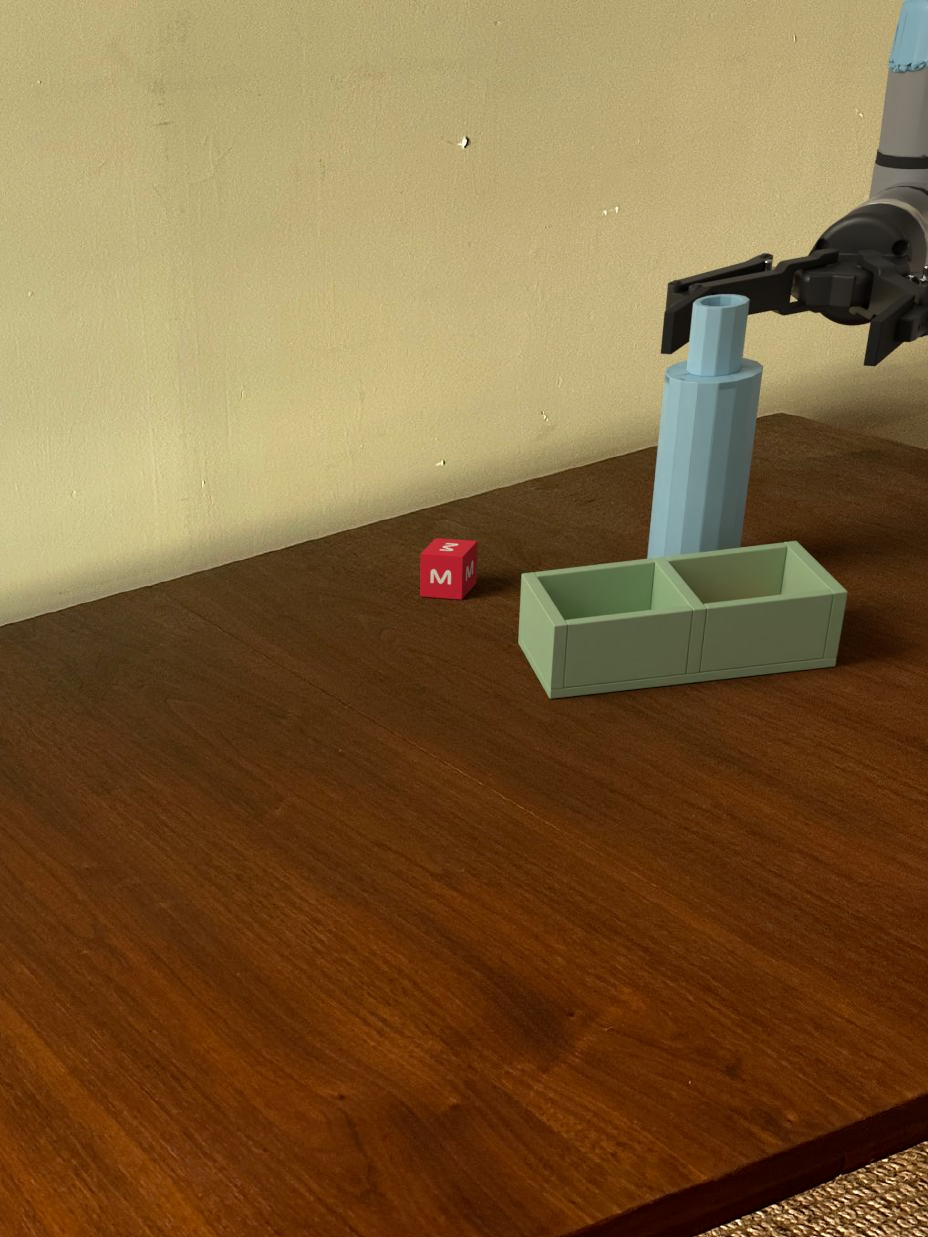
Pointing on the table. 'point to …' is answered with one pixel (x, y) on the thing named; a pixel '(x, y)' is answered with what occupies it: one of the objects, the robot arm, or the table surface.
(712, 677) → the holder
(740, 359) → the bottle
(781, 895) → the table surface
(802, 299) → the robot arm
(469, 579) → the red letter cube
